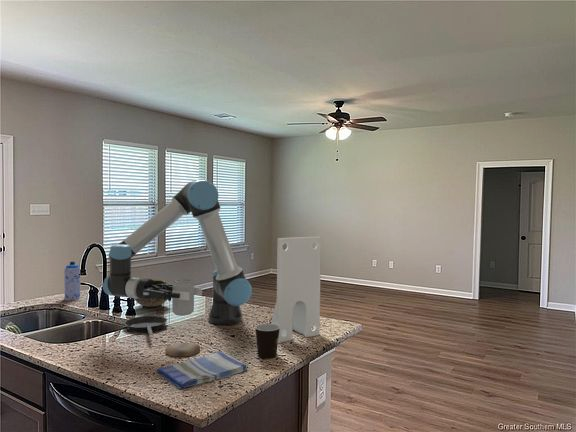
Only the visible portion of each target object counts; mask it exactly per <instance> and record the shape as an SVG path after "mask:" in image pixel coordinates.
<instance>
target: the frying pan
mask: <svg viewBox="0 0 576 432" xmlns="http://www.w3.org/2000/svg"><path fill="white" fill-rule="evenodd" d="M167 321H168V318H166V317H165V316H160V315H143V316H135V317H132V318H128V319H126V320H125V321H124V322H123V325H124V326H125V327H126V328H127V329H128V330H129V331H131V332H133V333H135V332H136V333H148V334H149V336H154V334H153V332H154V331H158V330H160V329H163V327H164V326H165V325H166V323H167Z"/></svg>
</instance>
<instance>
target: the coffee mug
mask: <svg viewBox="0 0 576 432" xmlns="http://www.w3.org/2000/svg"><path fill="white" fill-rule="evenodd" d="M254 327H255V328H254V329H255V337H256V348H257V357H258V358H261V359H264V360H265V359H266V360H271V359H274V358H276V357H277V355H278V354H277V353H278V346H279V345H278V344H279V343H278V338H279V330H280V326H278V325H275V324H271V323H260V324H258V325H255V326H254Z"/></svg>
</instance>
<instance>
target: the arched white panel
mask: <svg viewBox="0 0 576 432" xmlns="http://www.w3.org/2000/svg"><path fill="white" fill-rule="evenodd" d="M314 243H315V247H313V245H314ZM276 245H277V252H276V253H277V254H276V255H277V257H276V261H277V263H276V265H277V266H276V267H277V268H276V299H275V300H276V301H275V305H274V309H273V312H272V318H271V323H270V324H275V325H278V326H280V330H279V338H278V344H279V343H283V342H288V341H293V331H295V332H297V333H300V334H302V335H304V337H305V338H309V337H314V336H319V335H320V323H321V321H320V319H321V318H320V316H321V315H320V314H321V270H322V269H321V268H322V267H321V266H322V263H321V262H322V259H321V258H322V257H321V255H322V236H303V237H301V236H300V237H278V238H277V244H276ZM284 245H286V248H285V249H284ZM313 325H314V328H313V329H311V328H312V326H313Z"/></svg>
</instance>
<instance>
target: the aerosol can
mask: <svg viewBox="0 0 576 432" xmlns="http://www.w3.org/2000/svg"><path fill="white" fill-rule="evenodd" d="M75 262H76V261H70V262H69V264H68V265H66V266H65V267H64V301H71V302H72V301H78V300H81V299H82V298H81V267H80V265H78V264H77V263H75ZM79 273H80V275H79Z"/></svg>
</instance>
